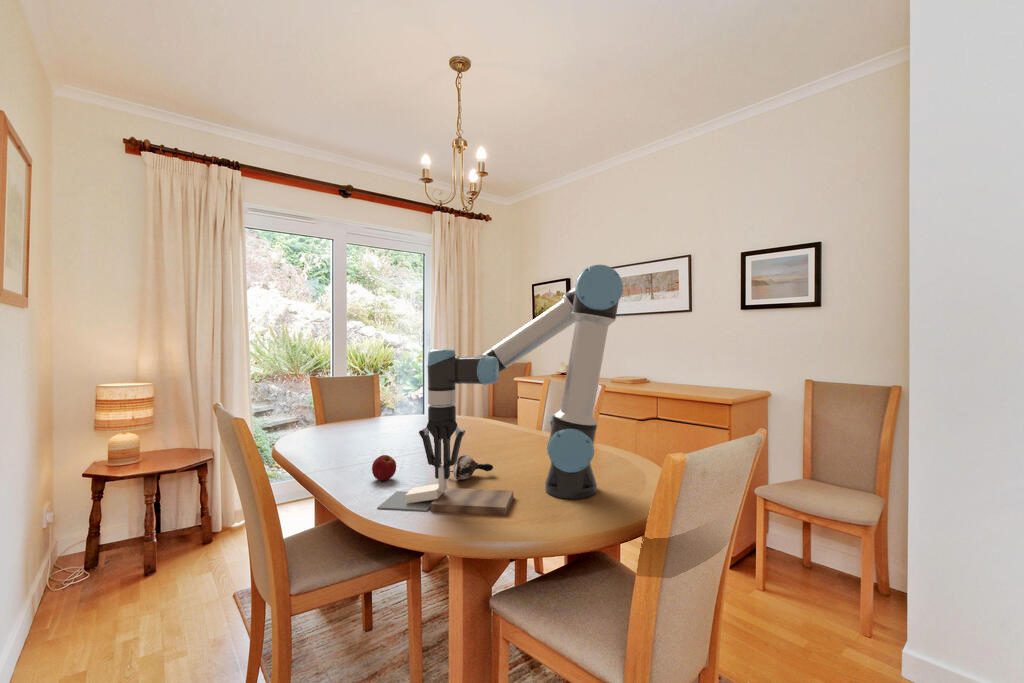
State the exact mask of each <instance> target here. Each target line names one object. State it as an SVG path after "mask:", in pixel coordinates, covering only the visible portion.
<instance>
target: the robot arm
mask: <svg viewBox="0 0 1024 683" xmlns="http://www.w3.org/2000/svg"><path fill="white" fill-rule="evenodd" d="M623 291H624V284H623V281H622V278H621V276H620V274H619V273H618V271H616V269H614V268H612V267H611V266H608V265H605V264H593V265H590V266H588V267H586V268H585V269H583V270H582V271H581V272H580V273H579V275H578V277H577V279H576V281H575V285H574V286H573V287H572V288H570V289H569V290H568V291H567V292H565V294H563V296H562V300H560V301H559V302H557V303H556V304H553V305H552V306H551V307H550V308H548V309H546V310H545V311H544V312H542V313H541V314H539V315H538V316H536V317H535V318H534V319H532V320H531V321H529V322H528V323H526V324H525V325H523V326H522V327H520V328H519V329H517V330H516V331H514V332H513V333H512V334H510V335H508V336H507V337H506V338H504V339H503V340H502V341H500V342H498V343H497V344H495V345H494V346H492V347H491V348H490V349H488V350H486V351H485V352H483V353H482V354H481V355H477V356H460V355H459V356H458V355H457V354H456V351H455V350H454V349H452V348H451V349H450V348H449V349H443V348H442V349H439V348H437V349H430V351H429V352H428V356H427V365H426V366H427V403H428V405H429V406H428V409H427V413H428V414H427V416H428V417H427V419H428V422H427V424H426V427H425V428H421V430H419V431H418V434H419V436H420V437H421V439H422V443H423V446H424V451H425V452H424V453H425V454H426V459H427V464H428V465H429V466H433V467H434V478H435V479H438V481H437V482H438V484H439V492H444V491H445V490H446V489H447V488H448V487H447V480H448V479H450V477H451V472H450V471H451V467H454V464H455V463H456V462H457V458H458V457H459V456H458V455H459V452H460V448H461V443H462V440H463V437H464V436H465V434H466V430H465V429H461V428H460V427H458V423H457V421H456V419H457V418H456V412H457V411H456V409H457V408H456V384H457V385H458V384H459V385H460V384H462V385H463V384H465V385H466V384H467V385H469V384H472V385H492V384H493V385H495V384H496V383H497V382H498V381H499V377H500V376H499V375H500V373H502V372H503V371H505V369H507V368H508V367H510V366H511V365H513V364H514V363H516V362H518V361H519V360H521V359H522V358H523V357H525V356H526V355H528V354H529V353H531V352H533V351H534V350H535V349H537V348H538V347H540V346H542V345H543V344H545V343H546V342H548V341H549V340H550V339H552V338H554V337H555V336H557V335H558V334H559V333H561V332H563V331H564V330H566V329H567V328H569V327H570V326H571V325H573V324H574V323H575V325H574V329H573V334H572V335H573V336H572V341H571V348H570V352H569V357H568V358H569V359H568V364H567V370H566V376H565V382H564V387H563V388H564V389H563V392H562V398H561V404H560V409H558V411H556V412H555V413H552V414H551V415H550V421H549V425H550V434H549V440H548V442H547V447H546V448H547V449H546V451H547V454H548V457H549V459H550V466H549V469H548V473H547V476H546V479H545V482H544V483H545V488H544V490H545V492H546V493H547V494H548V495H550V496H552V497H555V498H561V499H565V500H566V499H567V500H568V499H569V500H579V499H587V498H590V497H593V496H594V495H596V494H597V492H598V491H597V490H598V489H597V488H598V487H597V486H598V485H597V481H596V477H595V475H594V472H593V469H592V466H591V465H592V464H591V462H592V460H593V458H594V455H595V446H594V444H595V438H596V433H597V426H598V421H597V420H596V419H595V417H594V409H595V404H596V403H595V402H596V397H597V392H598V387H599V386H598V385H599V380H600V375H601V369H602V363H603V358H604V354H605V353H604V352H605V347H606V342H607V341H606V340H607V336H608V335H607V334H608V329H609V326H610V325H611V324H614V322H616V319H617V312H618V308H619V303H620V302H619V301H620V300H621V297H622V295H623ZM430 434H431V437H432V438H433V444H434V445H433V446H434V450H433V446H432V442H431V438H430ZM453 434H454V435H455V436H456V437H455V439H454V444H453V449H452V451H451V438H452V436H453ZM442 448H443V449H442ZM442 450H443V454H442ZM451 452H452V453H451ZM442 455H443V458H442ZM442 460H443V462H442ZM442 464H443V465H442Z"/></svg>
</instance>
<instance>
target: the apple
mask: <svg viewBox="0 0 1024 683" xmlns="http://www.w3.org/2000/svg"><path fill="white" fill-rule="evenodd" d="M371 471H372V475H373V477H374V478H375V479H376V480H377V481H380V482H385V481H388V480H390V479H392V478H393V477H394V475H395V473H396V472H397V463H396V460H395V459H394V458H393V457H392V456H390V455H388V454H383V455H380V456H378V457H376V458H375V459H374V461H373V463H372V466H371Z"/></svg>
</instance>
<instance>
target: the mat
mask: <svg viewBox="0 0 1024 683" xmlns="http://www.w3.org/2000/svg"><path fill="white" fill-rule="evenodd" d="M408 492H409V491H401V490H397V491H395V492H394V493H393V494H392V495H390V496H389V497H388V498H387V499H385V501H383V502H382V503H381V504H379V505H378V506H377V508H376V509H377V510H388V511H389V510H392V511H409V512H411V511H413V512H414V511H416V512H428V511H429V510H431V503H432V502H433V501H434V500H435V499H433V500H427V501H421V502H414V503H408V504H407V502H406V497H405V495H406V494H407V493H408Z"/></svg>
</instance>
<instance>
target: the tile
mask: <svg viewBox="0 0 1024 683" xmlns="http://www.w3.org/2000/svg"><path fill="white" fill-rule="evenodd" d="M407 492H408V493H407V494H406V495H405V497H406V502H407V504H408V503H414V502H421V501H427V500H433V499H438V498H439V497H440V496H441V495H442V493H443V492H439V483H435V484H429V485H422V486H416V487H412V488H411V489H410V490H409V491H407Z"/></svg>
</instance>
